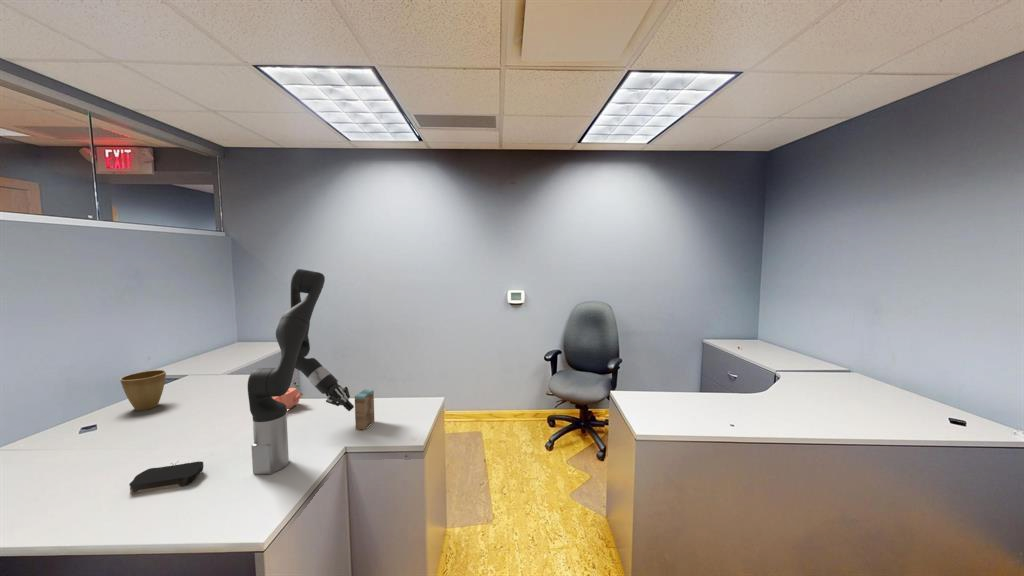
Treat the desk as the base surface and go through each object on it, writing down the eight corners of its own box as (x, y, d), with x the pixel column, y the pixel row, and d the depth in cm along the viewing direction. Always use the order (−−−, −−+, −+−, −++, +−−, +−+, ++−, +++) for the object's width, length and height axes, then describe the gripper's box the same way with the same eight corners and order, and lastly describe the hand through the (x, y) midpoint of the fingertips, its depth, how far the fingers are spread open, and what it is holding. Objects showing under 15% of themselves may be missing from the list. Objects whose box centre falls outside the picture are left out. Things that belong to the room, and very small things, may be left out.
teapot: (303, 408, 163) (303, 388, 163) (273, 415, 155) (272, 394, 155) (298, 401, 172) (297, 382, 171) (269, 407, 164) (268, 387, 163)
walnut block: (365, 430, 141) (364, 396, 140) (355, 429, 141) (354, 396, 140) (374, 421, 149) (373, 389, 148) (365, 421, 149) (364, 389, 148)
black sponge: (207, 470, 114) (206, 460, 113) (192, 486, 106) (191, 475, 105) (145, 480, 109) (144, 468, 109) (124, 497, 101) (122, 485, 101)
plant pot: (137, 403, 169) (135, 371, 168) (175, 400, 174) (173, 368, 173) (113, 416, 155) (110, 381, 154) (155, 411, 160) (152, 377, 159)
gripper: (318, 378, 138) (348, 409, 138) (337, 369, 151) (365, 397, 151) (306, 391, 139) (336, 422, 139) (326, 380, 152) (354, 408, 152)
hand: (351, 409), depth 145 cm, fingers closed
